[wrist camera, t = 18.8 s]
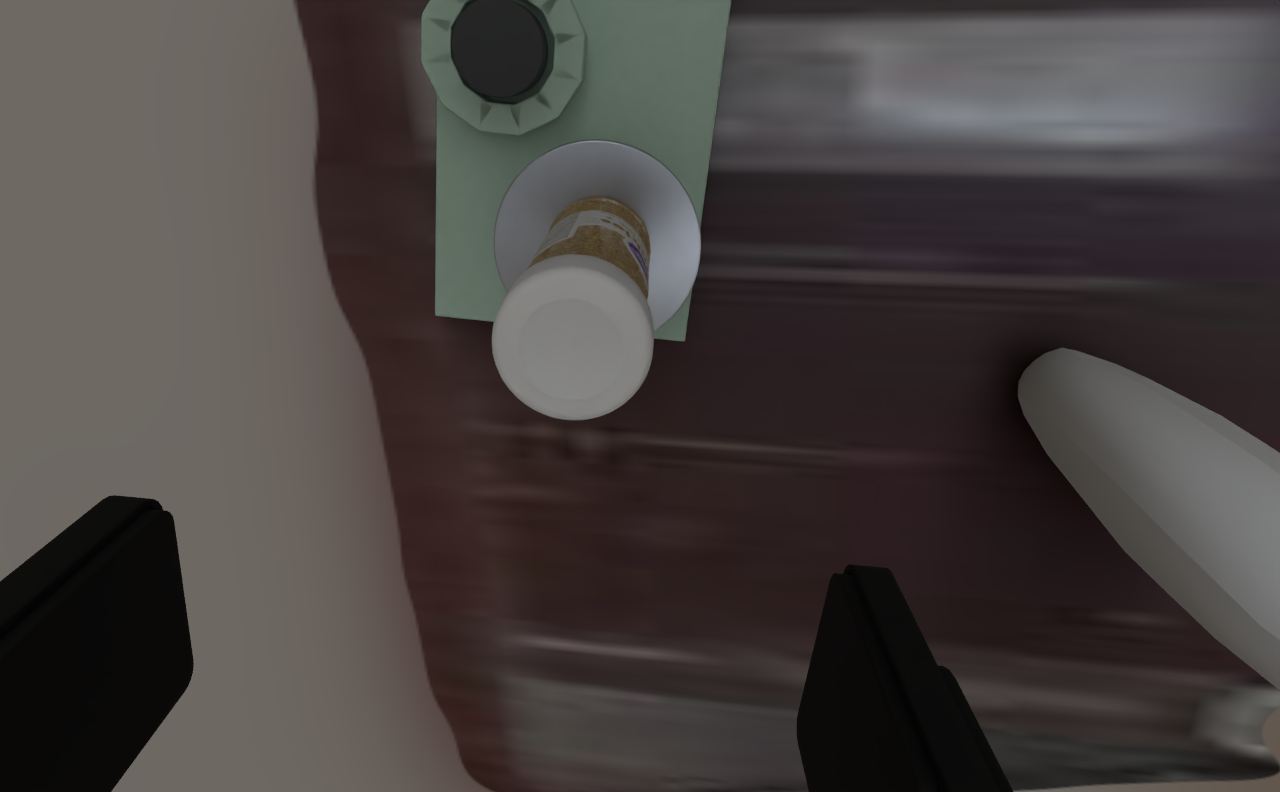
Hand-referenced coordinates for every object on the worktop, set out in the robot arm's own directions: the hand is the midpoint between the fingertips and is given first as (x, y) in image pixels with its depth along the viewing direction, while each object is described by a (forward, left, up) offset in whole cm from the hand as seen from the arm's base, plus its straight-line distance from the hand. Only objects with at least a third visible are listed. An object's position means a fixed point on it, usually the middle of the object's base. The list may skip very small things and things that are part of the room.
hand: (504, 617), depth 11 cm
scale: (-4, -1, -28) cm, 29 cm away
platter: (0, 0, -25) cm, 25 cm away
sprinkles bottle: (0, 0, -25) cm, 25 cm away
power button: (-8, -4, -26) cm, 27 cm away
